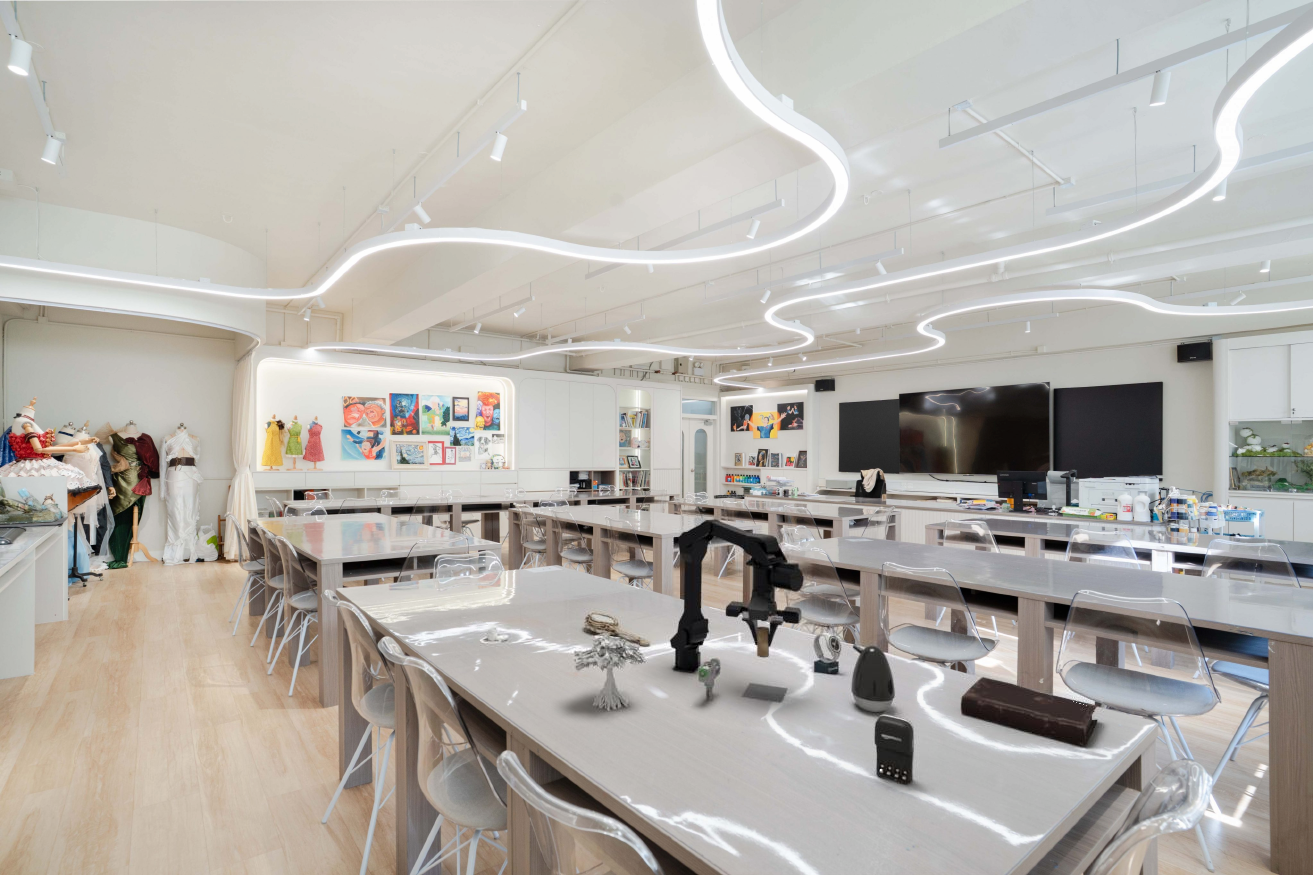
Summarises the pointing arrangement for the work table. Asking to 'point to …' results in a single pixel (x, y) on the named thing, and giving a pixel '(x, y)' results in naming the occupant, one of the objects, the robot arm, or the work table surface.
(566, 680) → the work table surface
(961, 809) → the work table surface
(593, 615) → the hand mirror
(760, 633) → the dowel
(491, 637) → the teacup and saucer
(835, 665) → the watch
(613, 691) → the tree
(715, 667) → the mechanical component
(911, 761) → the battery charger
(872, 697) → the pump dispenser
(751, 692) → the mat
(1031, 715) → the diary
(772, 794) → the work table surface
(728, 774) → the work table surface
